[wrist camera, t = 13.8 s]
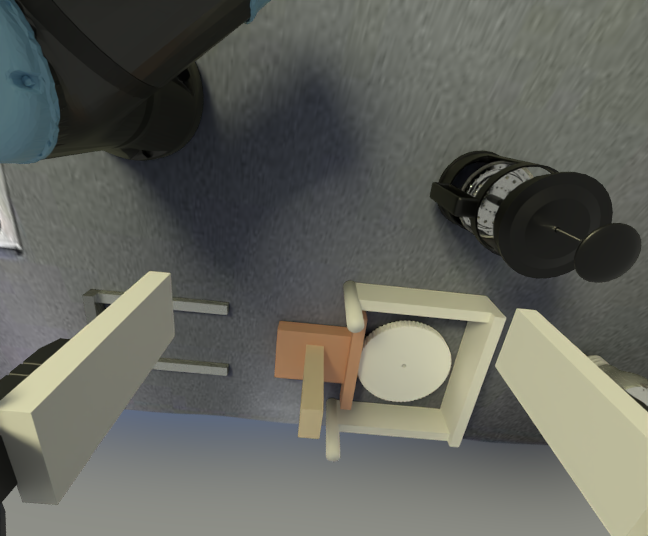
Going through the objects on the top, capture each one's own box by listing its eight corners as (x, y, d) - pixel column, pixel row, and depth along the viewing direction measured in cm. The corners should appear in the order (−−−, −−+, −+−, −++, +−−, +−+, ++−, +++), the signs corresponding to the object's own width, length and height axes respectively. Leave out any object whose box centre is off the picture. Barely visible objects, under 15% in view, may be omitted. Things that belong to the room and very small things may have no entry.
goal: (325, 406, 58) (325, 461, 49) (344, 279, 49) (348, 317, 40) (446, 417, 59) (468, 472, 50) (486, 294, 50) (523, 334, 40)
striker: (275, 385, 56) (259, 468, 43) (281, 297, 50) (265, 363, 36) (349, 392, 56) (356, 476, 43) (364, 306, 50) (378, 373, 37)
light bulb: (563, 381, 56) (621, 446, 45) (561, 346, 53) (623, 406, 42) (609, 371, 55) (680, 434, 44) (609, 335, 52) (685, 393, 41)
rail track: (103, 360, 54) (95, 368, 53) (90, 289, 50) (81, 295, 48) (228, 371, 55) (225, 380, 53) (228, 302, 50) (225, 309, 48)
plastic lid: (452, 317, 52) (458, 326, 49) (438, 391, 57) (443, 402, 55) (358, 315, 51) (359, 324, 49) (353, 389, 57) (354, 401, 55)
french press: (527, 154, 42) (730, 191, 21) (504, 229, 46) (657, 324, 25) (431, 145, 42) (540, 173, 21) (416, 221, 45) (495, 310, 24)
